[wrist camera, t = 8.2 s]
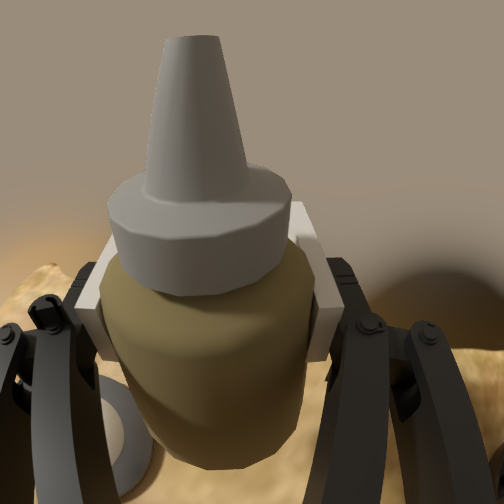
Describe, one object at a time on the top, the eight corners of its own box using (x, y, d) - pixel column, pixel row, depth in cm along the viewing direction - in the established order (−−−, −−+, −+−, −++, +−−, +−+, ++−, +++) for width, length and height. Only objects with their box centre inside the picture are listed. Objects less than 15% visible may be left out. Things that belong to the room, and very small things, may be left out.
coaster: (168, 500, 17) (165, 498, 16) (30, 497, 13) (24, 495, 13) (143, 371, 28) (141, 365, 27) (32, 381, 24) (28, 376, 23)
